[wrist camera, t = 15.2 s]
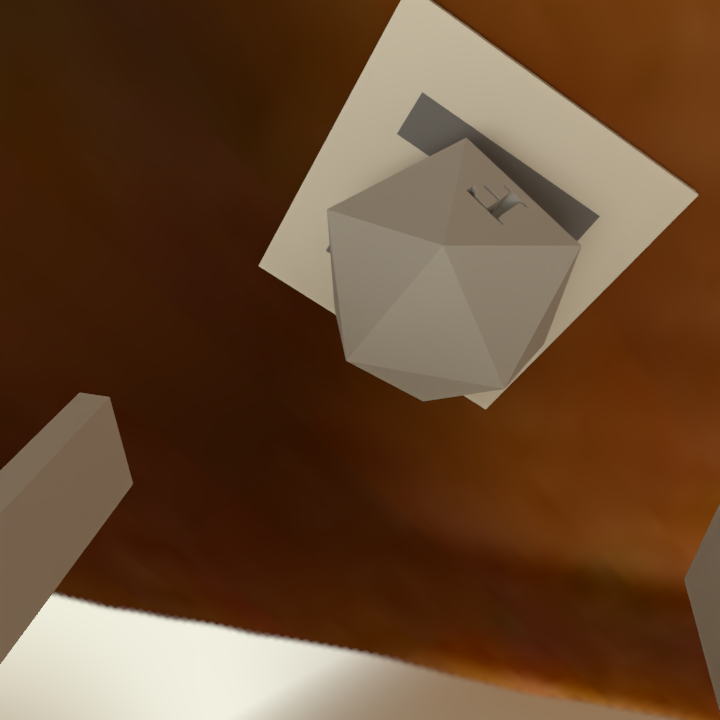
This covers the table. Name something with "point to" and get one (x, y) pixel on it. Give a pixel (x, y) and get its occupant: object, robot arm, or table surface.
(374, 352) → the die
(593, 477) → the table surface
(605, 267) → the board
